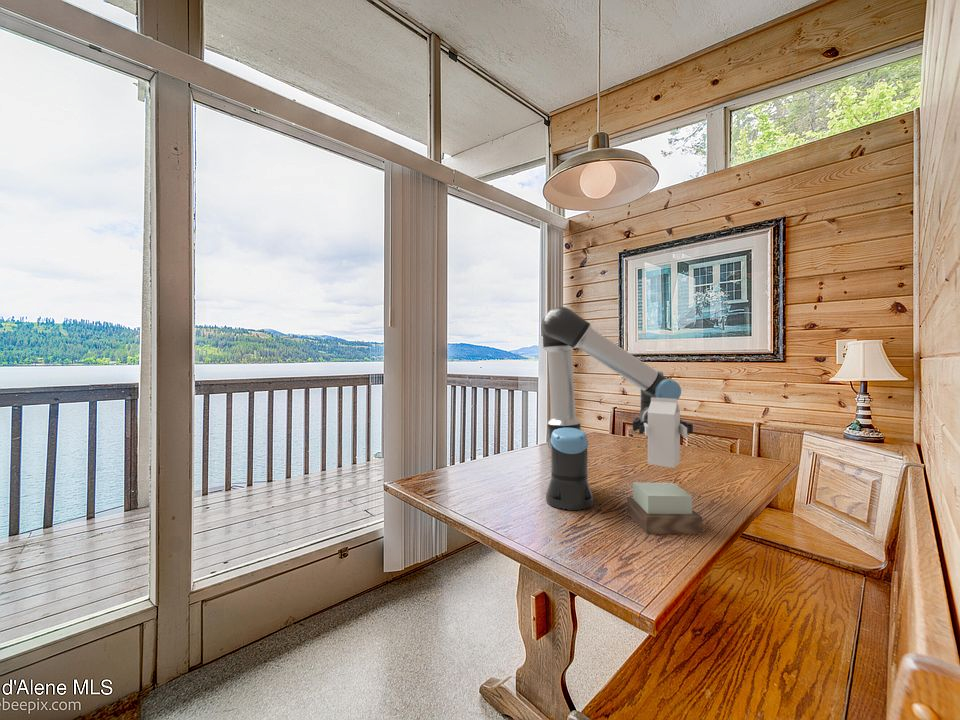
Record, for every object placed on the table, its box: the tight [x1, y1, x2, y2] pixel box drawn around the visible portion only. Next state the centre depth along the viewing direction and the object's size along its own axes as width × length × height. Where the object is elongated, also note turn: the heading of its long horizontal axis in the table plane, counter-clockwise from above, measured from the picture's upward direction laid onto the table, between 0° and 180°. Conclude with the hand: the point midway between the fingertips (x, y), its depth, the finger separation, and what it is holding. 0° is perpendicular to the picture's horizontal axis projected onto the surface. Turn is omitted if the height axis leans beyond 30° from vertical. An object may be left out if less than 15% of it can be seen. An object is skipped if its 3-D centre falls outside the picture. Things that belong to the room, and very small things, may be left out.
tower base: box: [626, 497, 703, 534], centre depth 119 cm, size 15×15×5 cm
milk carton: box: [647, 397, 681, 469], centre depth 118 cm, size 7×7×19 cm
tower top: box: [632, 481, 693, 514], centre depth 119 cm, size 12×12×5 cm
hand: (666, 432), depth 114 cm, fingers closed on milk carton, 9 cm apart
